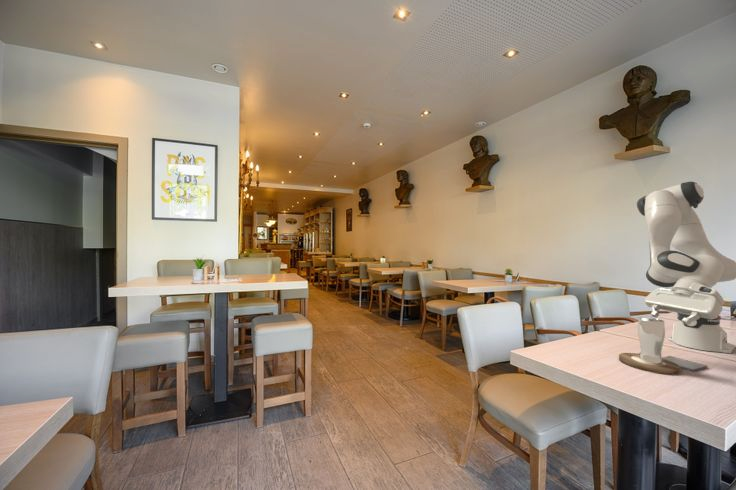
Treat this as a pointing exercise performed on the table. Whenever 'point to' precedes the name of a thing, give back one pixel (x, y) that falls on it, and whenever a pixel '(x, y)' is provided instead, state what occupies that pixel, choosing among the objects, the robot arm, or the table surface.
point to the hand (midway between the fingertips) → (668, 319)
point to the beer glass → (651, 339)
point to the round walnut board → (649, 364)
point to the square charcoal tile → (686, 364)
